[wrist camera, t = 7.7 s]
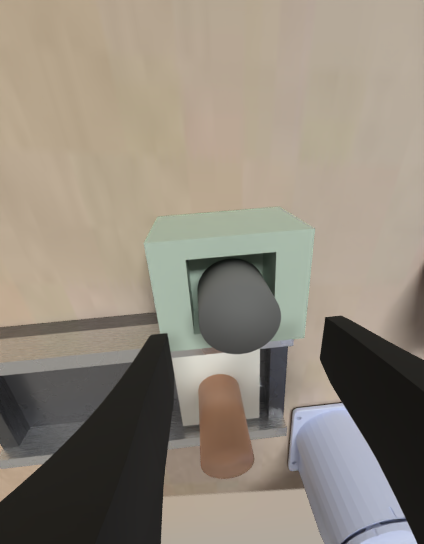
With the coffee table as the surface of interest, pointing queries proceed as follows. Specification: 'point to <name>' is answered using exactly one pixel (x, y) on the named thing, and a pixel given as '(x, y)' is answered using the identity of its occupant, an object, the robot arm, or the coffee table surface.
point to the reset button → (236, 307)
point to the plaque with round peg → (220, 407)
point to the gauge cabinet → (223, 245)
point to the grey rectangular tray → (98, 383)
